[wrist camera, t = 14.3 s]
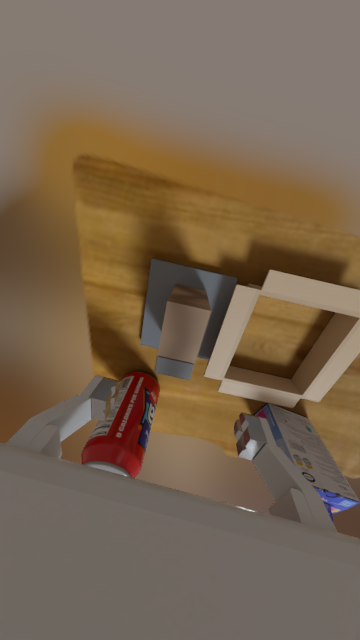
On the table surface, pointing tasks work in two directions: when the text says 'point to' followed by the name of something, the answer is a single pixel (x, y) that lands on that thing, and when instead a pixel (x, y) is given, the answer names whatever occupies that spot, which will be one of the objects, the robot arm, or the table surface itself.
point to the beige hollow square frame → (320, 363)
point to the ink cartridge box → (309, 457)
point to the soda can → (124, 428)
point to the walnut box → (182, 331)
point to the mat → (170, 274)
